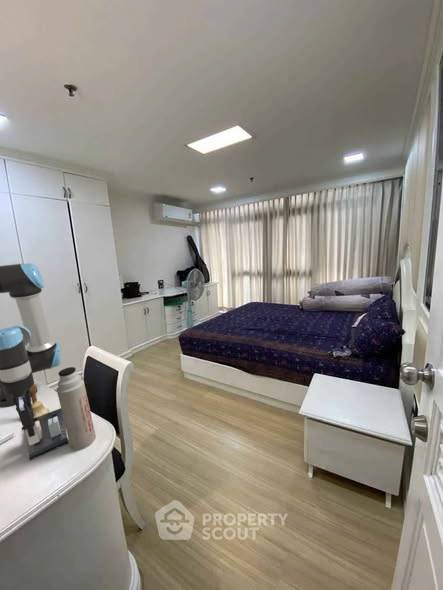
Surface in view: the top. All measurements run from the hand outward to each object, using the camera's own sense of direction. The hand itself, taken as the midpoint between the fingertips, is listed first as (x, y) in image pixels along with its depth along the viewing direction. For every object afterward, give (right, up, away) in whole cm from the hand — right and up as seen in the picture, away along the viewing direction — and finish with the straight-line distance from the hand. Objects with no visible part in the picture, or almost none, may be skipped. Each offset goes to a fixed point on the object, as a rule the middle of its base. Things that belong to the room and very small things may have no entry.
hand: (34, 442), depth 81 cm
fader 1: (-4, -4, +7) cm, 9 cm away
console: (-4, -4, +12) cm, 14 cm away
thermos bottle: (+12, -4, +7) cm, 15 cm away
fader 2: (+1, -3, +9) cm, 9 cm away
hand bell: (-17, -3, +24) cm, 30 cm away
